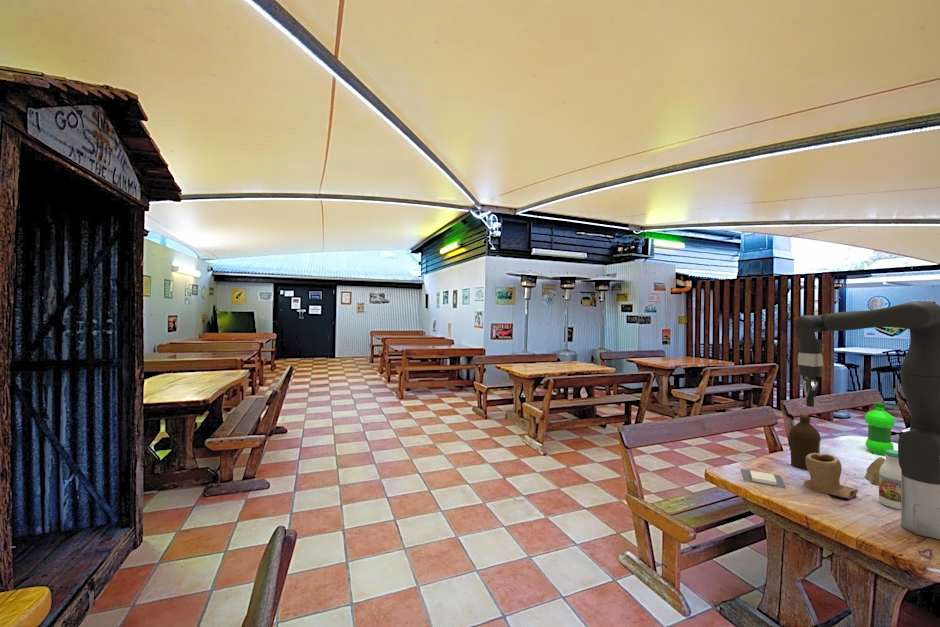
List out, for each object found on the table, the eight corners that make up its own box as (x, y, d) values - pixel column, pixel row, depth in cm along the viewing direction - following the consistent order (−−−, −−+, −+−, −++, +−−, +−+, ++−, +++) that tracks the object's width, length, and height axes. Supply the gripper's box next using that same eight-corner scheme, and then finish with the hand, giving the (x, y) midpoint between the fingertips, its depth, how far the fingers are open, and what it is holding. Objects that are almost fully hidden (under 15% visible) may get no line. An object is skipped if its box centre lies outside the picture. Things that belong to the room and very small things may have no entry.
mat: (786, 492, 152) (786, 489, 152) (743, 483, 159) (743, 481, 159) (780, 478, 164) (780, 475, 164) (740, 471, 171) (740, 468, 171)
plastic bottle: (858, 449, 195) (858, 400, 195) (877, 448, 196) (878, 400, 195) (880, 457, 185) (881, 406, 185) (901, 456, 186) (901, 405, 185)
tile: (773, 478, 161) (776, 486, 154) (750, 474, 165) (752, 481, 158) (773, 474, 161) (776, 482, 154) (750, 470, 165) (752, 477, 158)
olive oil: (794, 472, 170) (794, 416, 169) (785, 463, 180) (785, 410, 179) (825, 475, 166) (825, 418, 165) (814, 466, 175) (814, 412, 175)
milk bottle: (877, 497, 147) (877, 446, 146) (907, 504, 142) (907, 450, 141) (881, 506, 141) (881, 452, 140) (912, 513, 136) (912, 457, 135)
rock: (887, 483, 153) (901, 476, 156) (869, 462, 157) (883, 455, 161) (860, 489, 162) (874, 482, 165) (844, 469, 166) (857, 463, 169)
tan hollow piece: (800, 491, 153) (800, 453, 152) (806, 482, 160) (806, 446, 160) (853, 506, 141) (854, 465, 141) (858, 495, 148) (858, 457, 148)
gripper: (794, 361, 163) (794, 401, 164) (801, 365, 152) (801, 408, 152) (818, 362, 159) (817, 403, 160) (826, 366, 148) (826, 411, 148)
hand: (809, 406), depth 156 cm, fingers closed
